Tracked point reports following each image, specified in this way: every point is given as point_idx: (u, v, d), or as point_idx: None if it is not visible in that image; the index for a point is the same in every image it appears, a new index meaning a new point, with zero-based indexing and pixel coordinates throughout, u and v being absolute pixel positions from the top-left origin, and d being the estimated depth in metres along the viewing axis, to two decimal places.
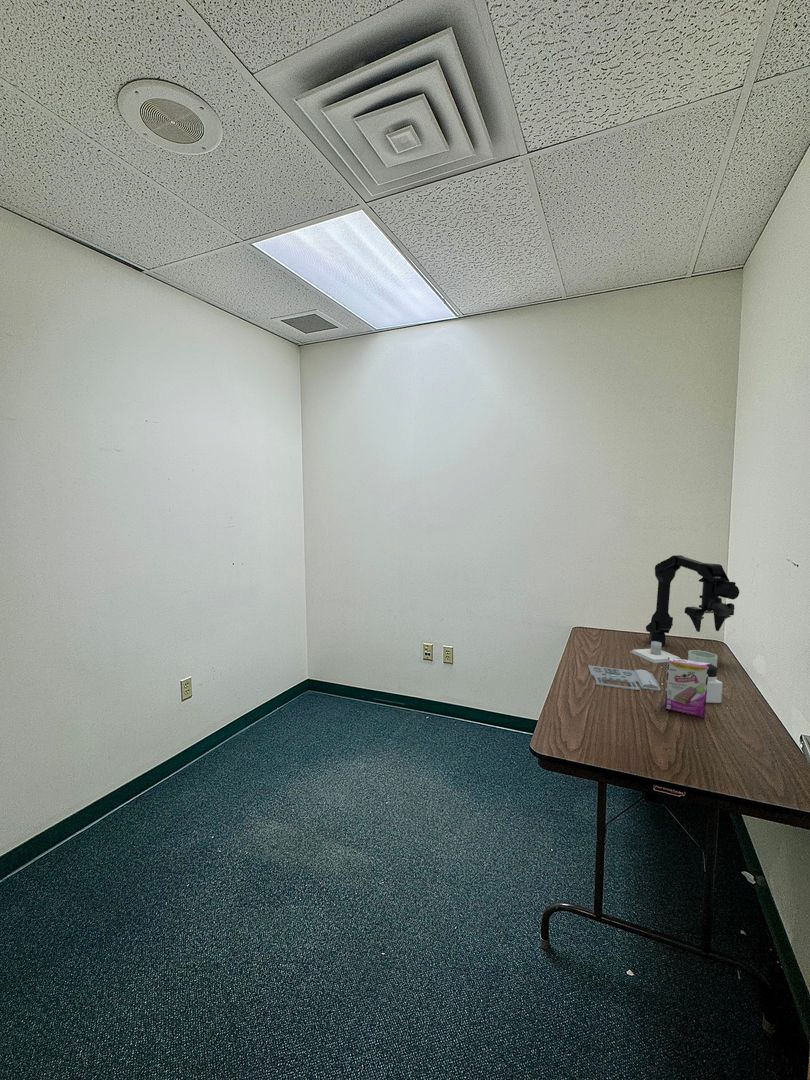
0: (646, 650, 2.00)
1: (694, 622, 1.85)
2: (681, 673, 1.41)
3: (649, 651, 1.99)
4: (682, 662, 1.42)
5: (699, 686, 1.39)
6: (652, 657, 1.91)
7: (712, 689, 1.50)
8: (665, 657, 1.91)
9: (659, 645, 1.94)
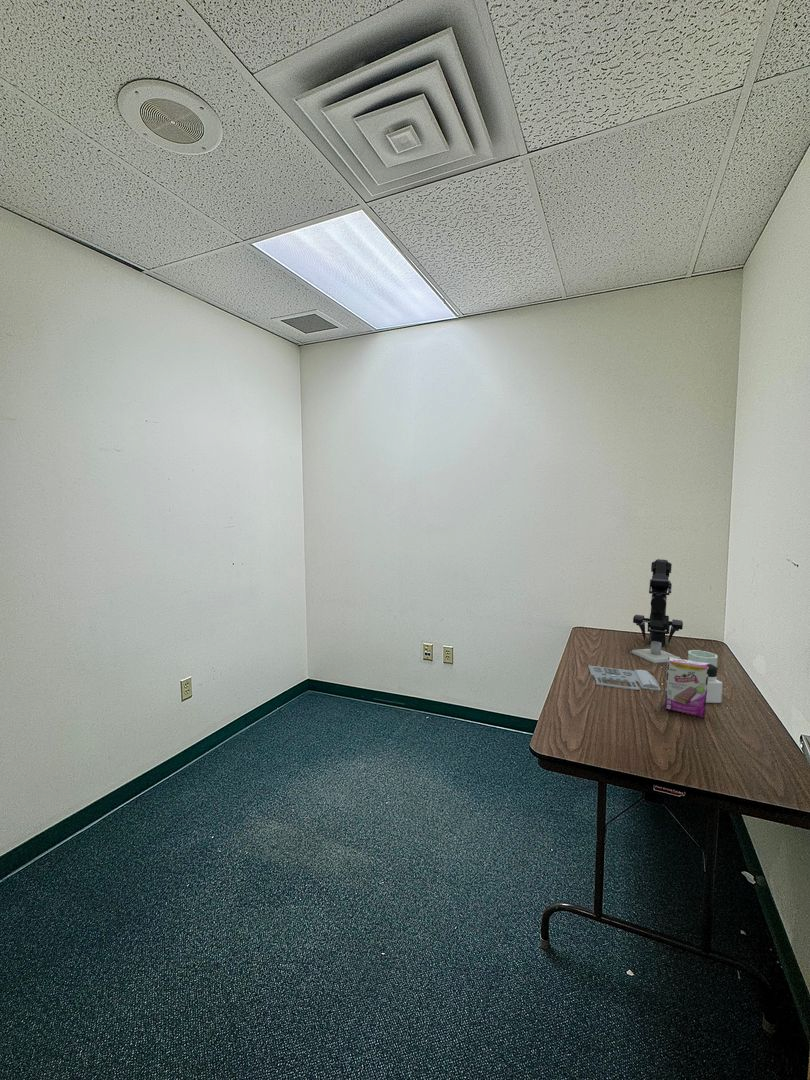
0: (646, 650, 2.00)
1: None
2: (681, 673, 1.41)
3: (649, 651, 1.99)
4: (683, 662, 1.42)
5: (699, 686, 1.39)
6: (652, 657, 1.91)
7: (712, 689, 1.50)
8: (665, 657, 1.91)
9: (659, 645, 1.94)
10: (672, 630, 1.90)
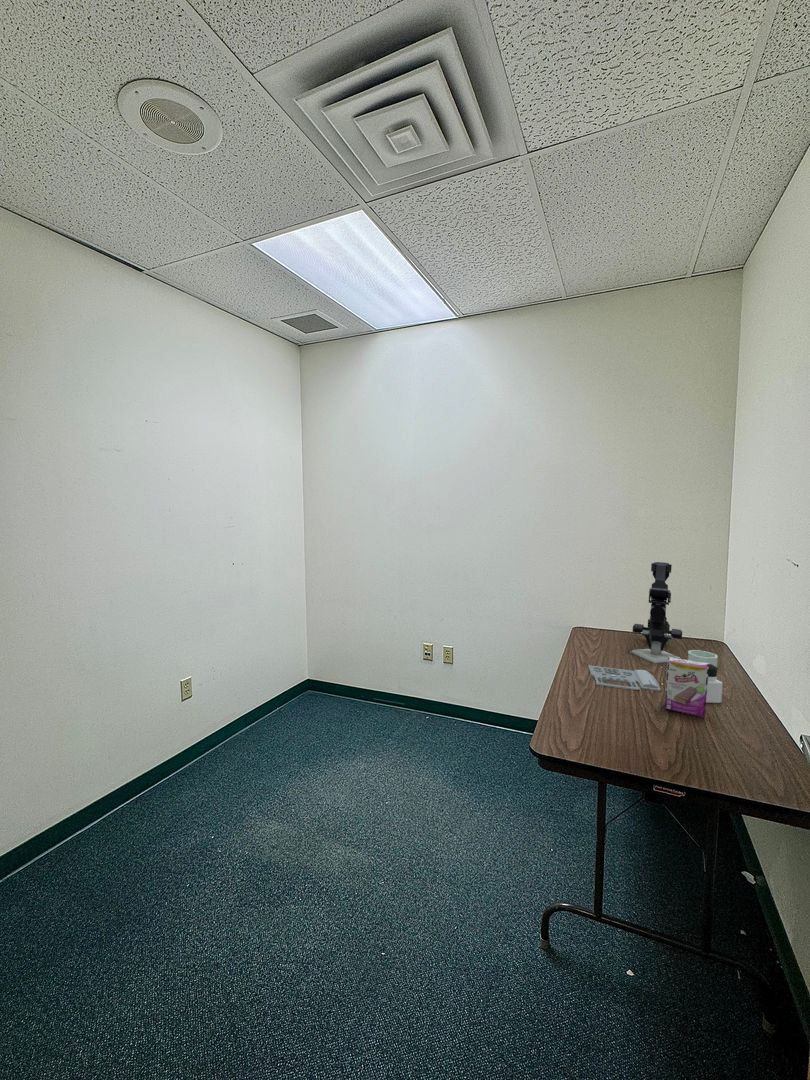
0: (646, 650, 2.00)
1: None
2: (681, 673, 1.41)
3: (649, 651, 1.99)
4: (683, 662, 1.42)
5: (699, 686, 1.39)
6: (652, 657, 1.91)
7: (712, 689, 1.50)
8: (665, 657, 1.91)
9: (659, 645, 1.94)
10: (665, 638, 1.91)
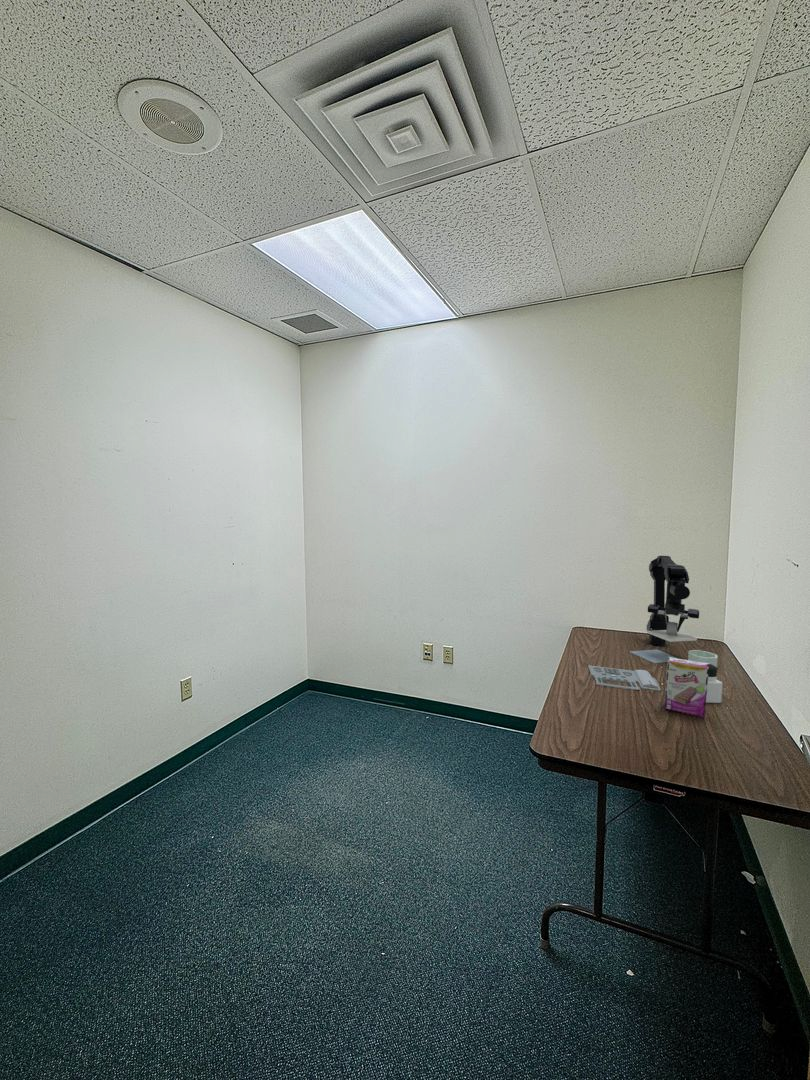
0: (661, 631, 1.96)
1: None
2: (681, 673, 1.41)
3: (665, 632, 1.94)
4: (683, 662, 1.42)
5: (699, 686, 1.39)
6: (668, 637, 1.87)
7: (712, 689, 1.50)
8: (681, 637, 1.87)
9: (675, 625, 1.89)
10: (681, 618, 1.87)
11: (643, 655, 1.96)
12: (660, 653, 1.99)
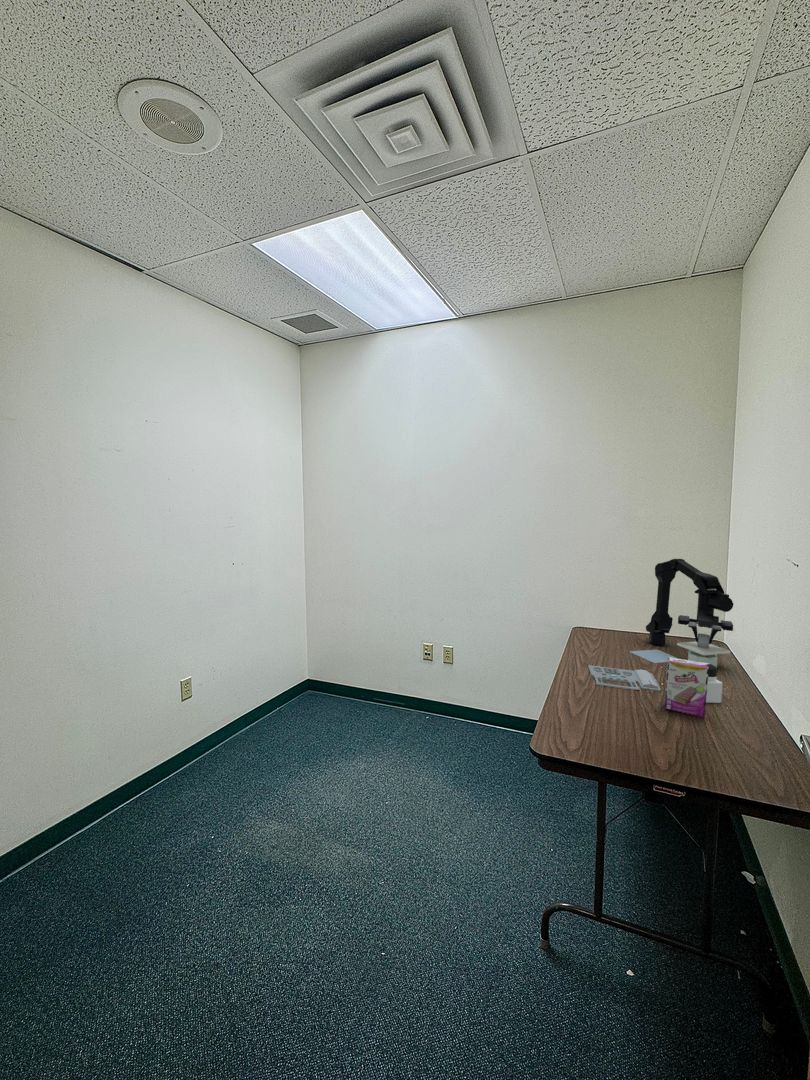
0: (692, 643, 1.89)
1: None
2: (681, 673, 1.41)
3: (695, 644, 1.88)
4: (683, 662, 1.42)
5: (699, 686, 1.39)
6: (700, 650, 1.80)
7: (712, 689, 1.50)
8: (714, 650, 1.80)
9: (707, 638, 1.83)
10: (714, 630, 1.81)
11: (643, 655, 1.96)
12: (660, 653, 1.99)
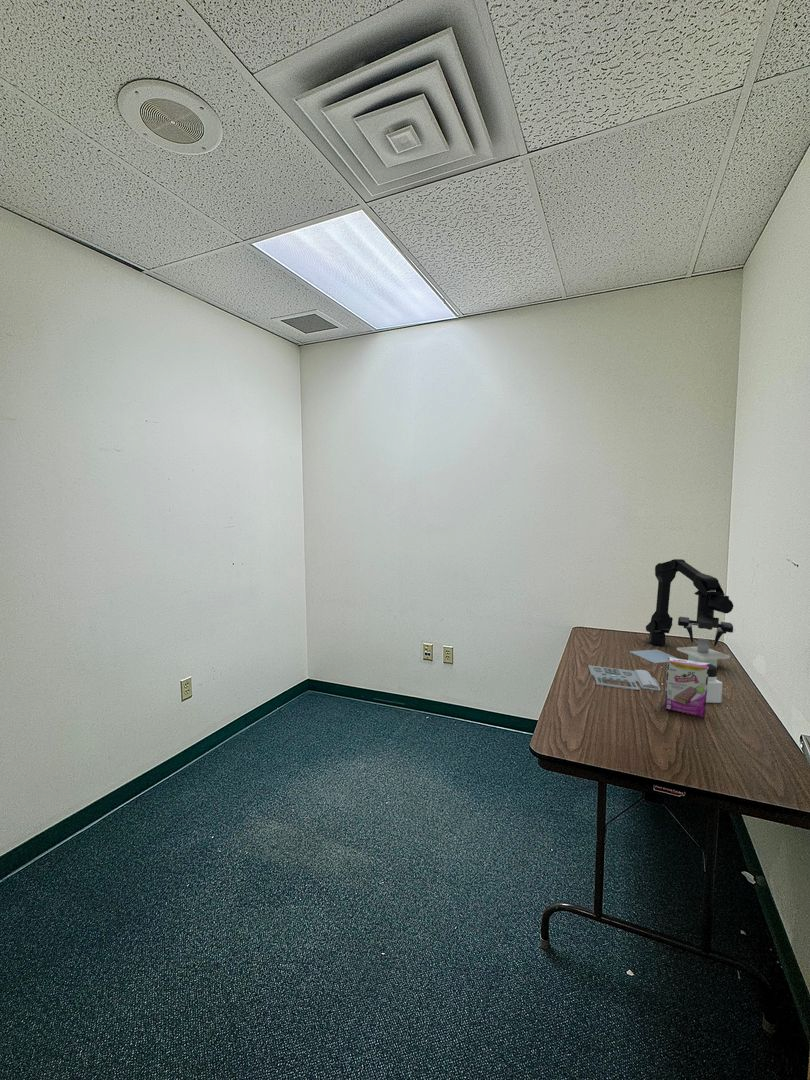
0: (691, 648, 1.89)
1: None
2: (681, 673, 1.41)
3: (695, 649, 1.88)
4: (683, 662, 1.42)
5: (699, 686, 1.39)
6: (700, 655, 1.80)
7: (712, 689, 1.50)
8: (714, 655, 1.80)
9: (707, 643, 1.83)
10: (719, 633, 1.80)
11: (643, 655, 1.96)
12: (660, 653, 1.99)
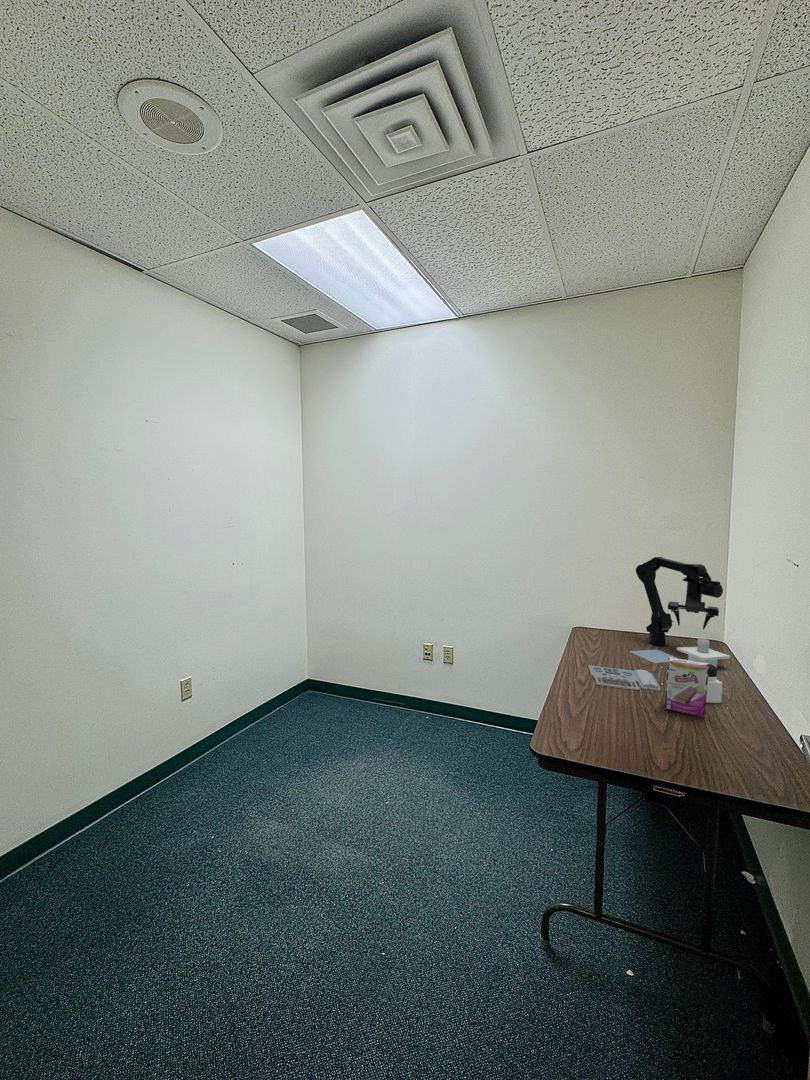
0: (691, 648, 1.89)
1: None
2: (681, 673, 1.41)
3: (695, 649, 1.88)
4: (683, 662, 1.42)
5: (699, 686, 1.39)
6: (700, 655, 1.80)
7: (712, 689, 1.50)
8: (714, 655, 1.80)
9: (707, 643, 1.83)
10: (708, 617, 1.92)
11: (643, 655, 1.96)
12: (660, 653, 1.99)
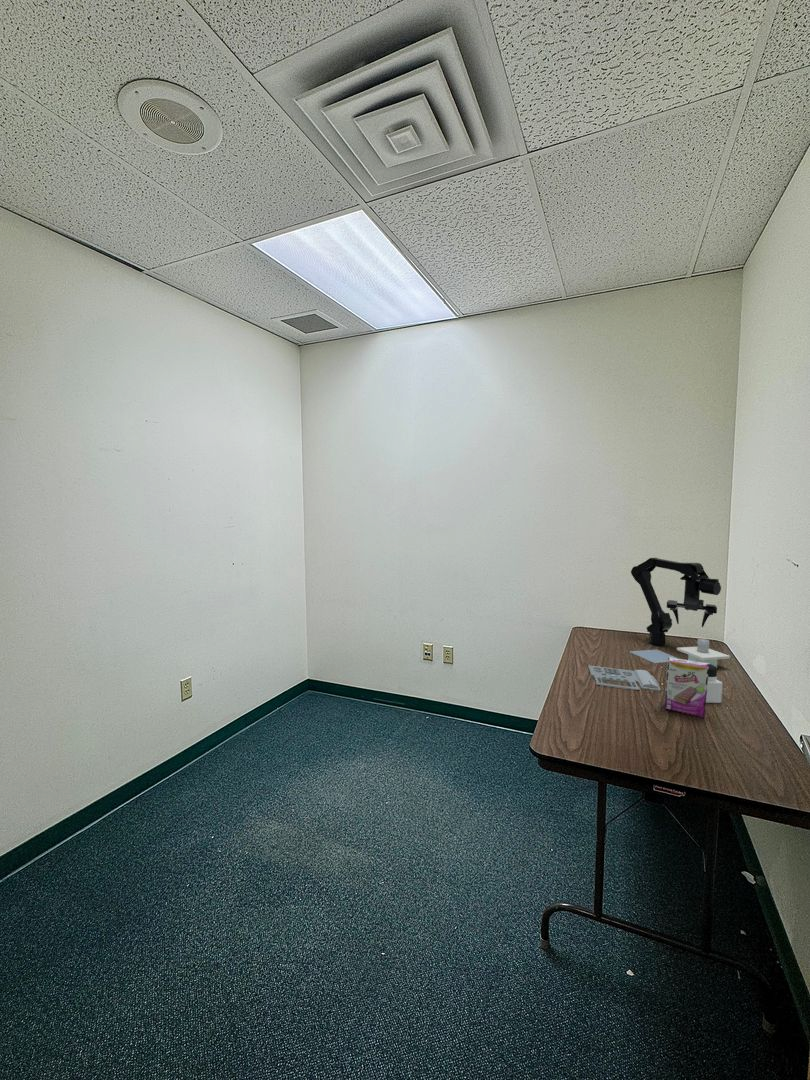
0: (691, 648, 1.89)
1: None
2: (681, 673, 1.41)
3: (695, 649, 1.88)
4: (683, 662, 1.42)
5: (699, 686, 1.39)
6: (700, 655, 1.80)
7: (712, 689, 1.50)
8: (714, 655, 1.80)
9: (707, 643, 1.83)
10: (706, 614, 1.94)
11: (643, 655, 1.96)
12: (660, 653, 1.99)
